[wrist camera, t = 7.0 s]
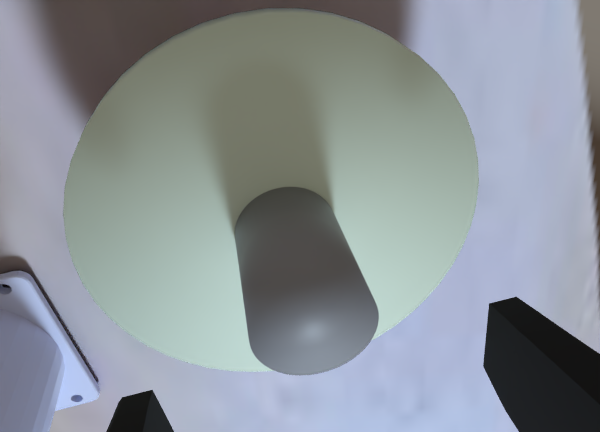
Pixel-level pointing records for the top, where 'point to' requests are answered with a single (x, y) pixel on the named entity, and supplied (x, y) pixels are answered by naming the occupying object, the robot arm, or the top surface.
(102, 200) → the lid
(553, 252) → the top surface
